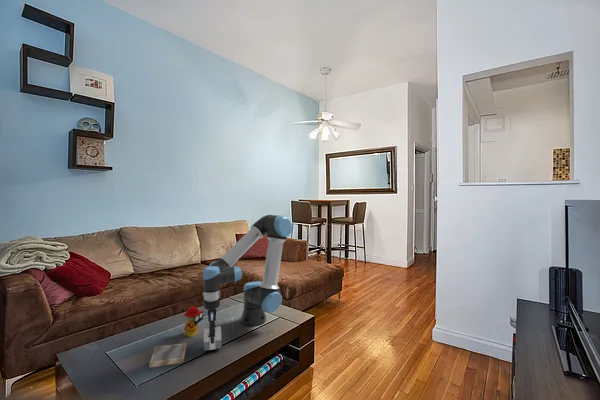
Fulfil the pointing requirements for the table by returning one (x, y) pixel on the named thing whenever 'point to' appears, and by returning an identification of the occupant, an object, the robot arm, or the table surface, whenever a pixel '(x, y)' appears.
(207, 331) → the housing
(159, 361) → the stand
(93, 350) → the table surface
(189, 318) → the toy
